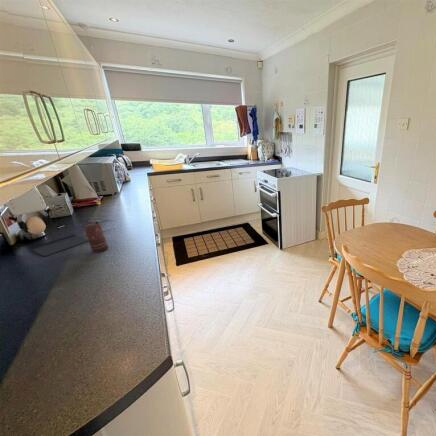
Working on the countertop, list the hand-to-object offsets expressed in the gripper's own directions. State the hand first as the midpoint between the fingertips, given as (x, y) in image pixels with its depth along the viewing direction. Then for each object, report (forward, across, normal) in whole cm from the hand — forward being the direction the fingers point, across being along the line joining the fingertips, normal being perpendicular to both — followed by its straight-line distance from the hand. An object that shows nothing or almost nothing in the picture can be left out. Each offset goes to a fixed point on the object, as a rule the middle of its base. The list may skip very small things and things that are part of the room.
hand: (36, 227), depth 96 cm
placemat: (+17, -10, -17) cm, 26 cm away
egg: (+3, 0, 0) cm, 3 cm away
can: (+17, -16, +6) cm, 25 cm away
